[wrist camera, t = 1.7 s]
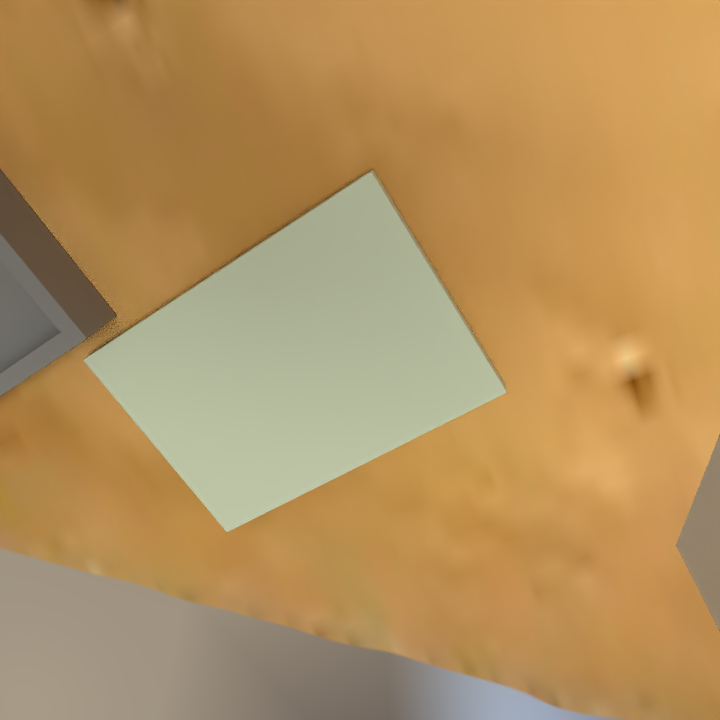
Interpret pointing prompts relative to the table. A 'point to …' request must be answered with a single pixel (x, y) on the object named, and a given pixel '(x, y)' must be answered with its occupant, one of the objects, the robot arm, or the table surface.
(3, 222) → the parts bin
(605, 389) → the table surface
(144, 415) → the mat
